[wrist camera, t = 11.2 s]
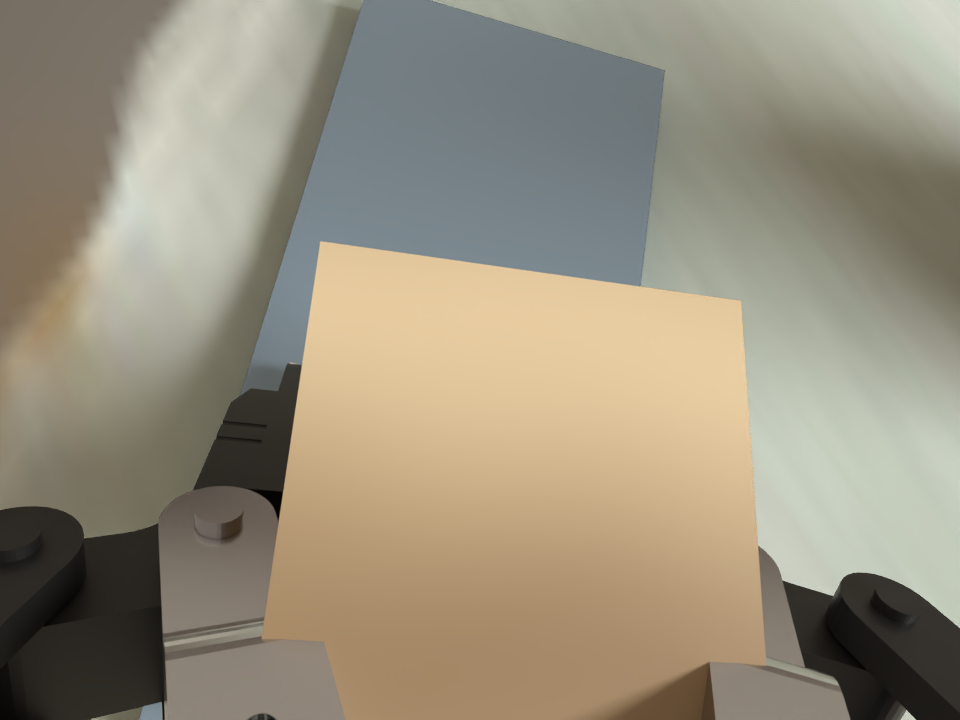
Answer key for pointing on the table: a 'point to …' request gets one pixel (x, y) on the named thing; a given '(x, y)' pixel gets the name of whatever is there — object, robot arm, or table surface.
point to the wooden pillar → (517, 493)
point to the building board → (469, 161)
